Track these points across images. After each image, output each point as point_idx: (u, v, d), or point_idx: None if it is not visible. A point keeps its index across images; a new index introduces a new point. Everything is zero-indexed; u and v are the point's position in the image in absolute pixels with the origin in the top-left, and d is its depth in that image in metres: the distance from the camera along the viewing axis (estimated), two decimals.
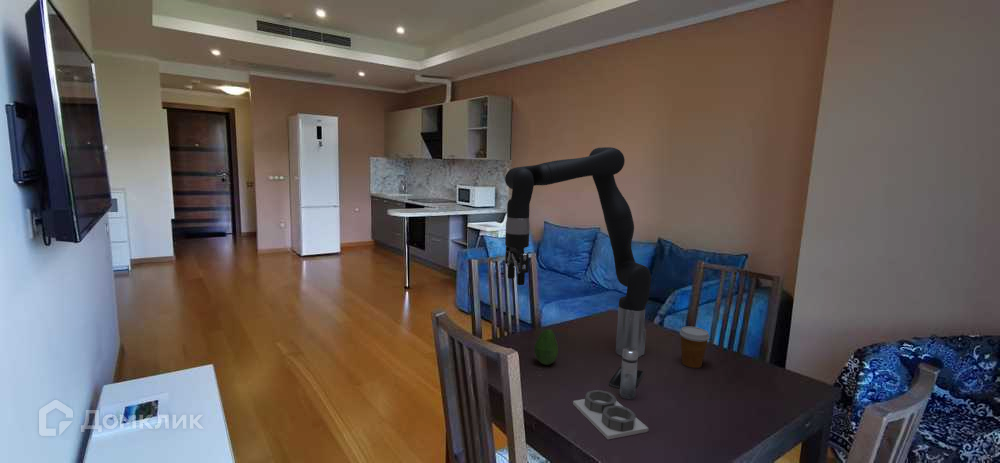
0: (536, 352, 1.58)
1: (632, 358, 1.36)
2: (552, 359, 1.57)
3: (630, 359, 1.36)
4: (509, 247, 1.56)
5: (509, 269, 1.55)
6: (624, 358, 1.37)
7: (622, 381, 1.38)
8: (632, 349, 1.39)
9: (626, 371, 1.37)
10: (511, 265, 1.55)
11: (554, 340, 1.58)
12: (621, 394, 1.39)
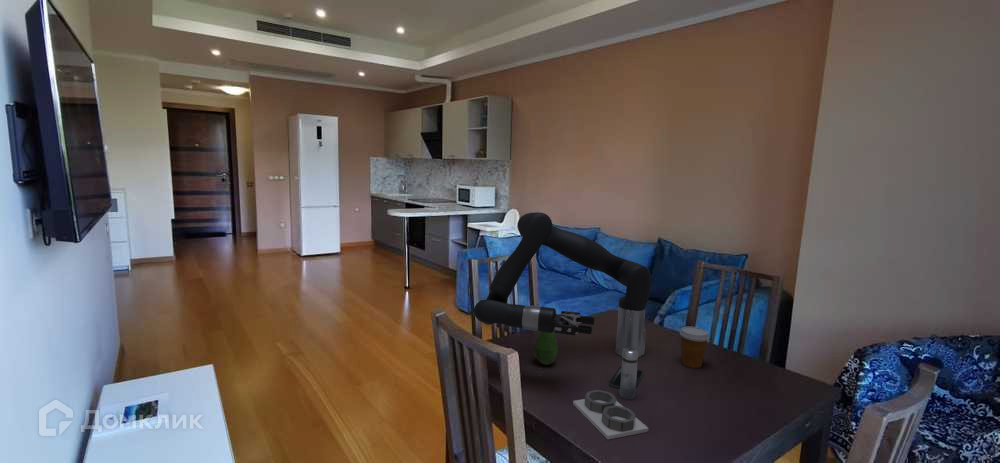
0: (536, 352, 1.58)
1: (632, 358, 1.36)
2: (552, 359, 1.57)
3: (630, 359, 1.36)
4: None
5: (583, 322, 1.45)
6: (624, 358, 1.37)
7: (622, 381, 1.38)
8: (632, 349, 1.39)
9: (626, 371, 1.37)
10: (579, 319, 1.45)
11: (554, 340, 1.58)
12: (621, 394, 1.39)
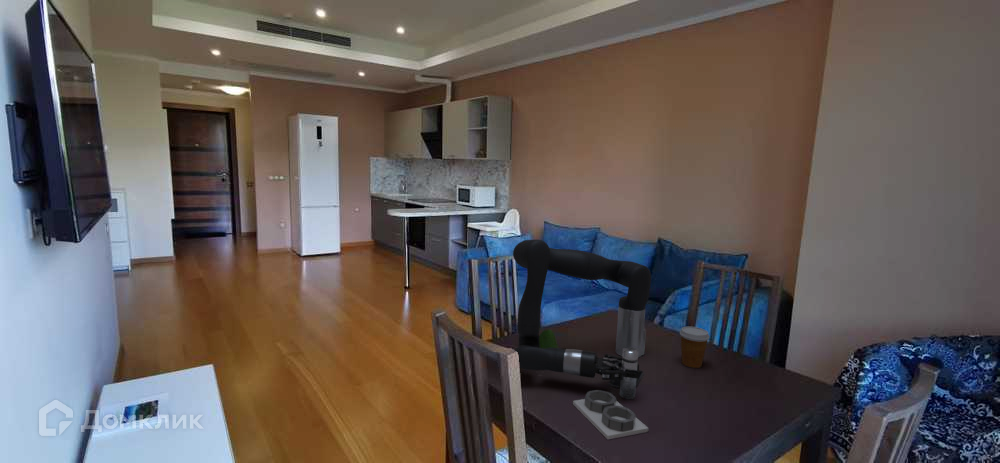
0: None
1: (632, 358, 1.36)
2: None
3: (630, 359, 1.36)
4: None
5: None
6: (624, 358, 1.37)
7: (622, 381, 1.38)
8: (632, 349, 1.39)
9: None
10: None
11: (554, 340, 1.58)
12: (621, 394, 1.39)
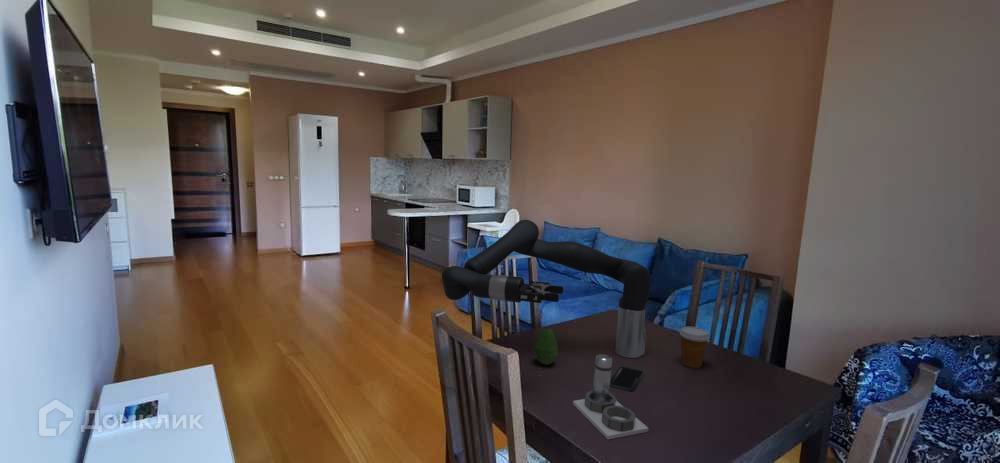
0: (536, 352, 1.58)
1: (605, 366, 1.28)
2: (552, 359, 1.57)
3: (603, 367, 1.28)
4: None
5: (552, 292, 1.41)
6: (597, 365, 1.29)
7: (594, 390, 1.30)
8: (606, 356, 1.31)
9: (599, 379, 1.29)
10: (548, 289, 1.42)
11: (554, 340, 1.58)
12: None
